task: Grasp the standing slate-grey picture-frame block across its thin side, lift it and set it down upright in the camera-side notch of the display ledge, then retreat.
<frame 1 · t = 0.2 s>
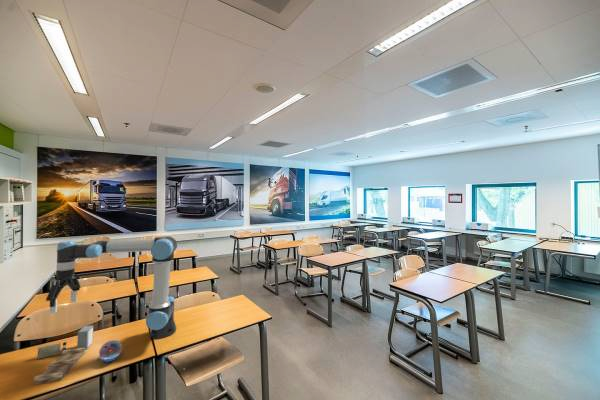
hand: (63, 307, 137), 27 cm above the table, fingers open, 13 cm apart
cell model: (110, 360, 134), on the table
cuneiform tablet: (51, 356, 136), on the table
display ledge: (61, 367, 127), on the table
frame block: (85, 347, 145), on the table
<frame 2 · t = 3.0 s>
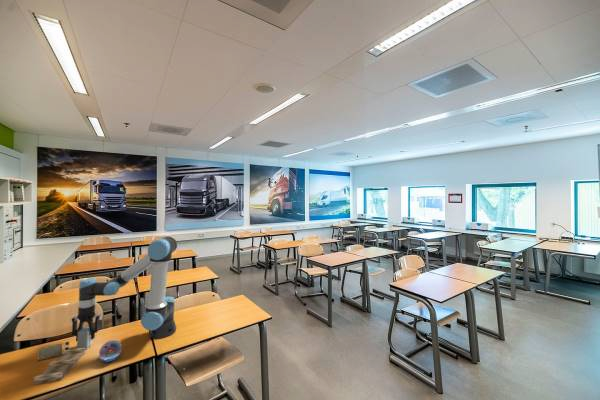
hand: (85, 345, 145), 1 cm above the table, fingers closed on frame block, 5 cm apart
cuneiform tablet: (53, 357, 135), on the table
frame block: (84, 347, 145), on the table, touching gripper
everything else where it was.
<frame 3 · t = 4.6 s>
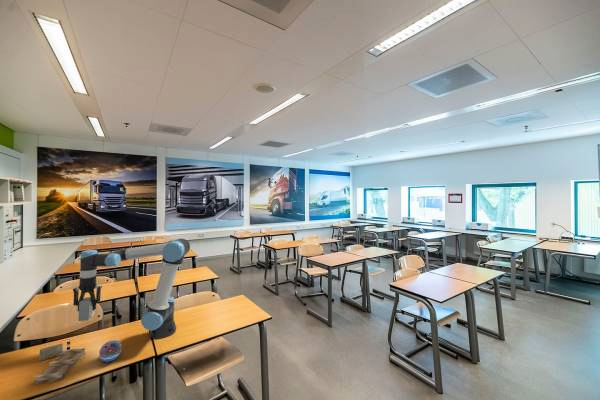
hand: (86, 315, 145), 18 cm above the table, fingers closed on frame block, 5 cm apart
frame block: (86, 318, 145), point 17 cm above the table, touching gripper
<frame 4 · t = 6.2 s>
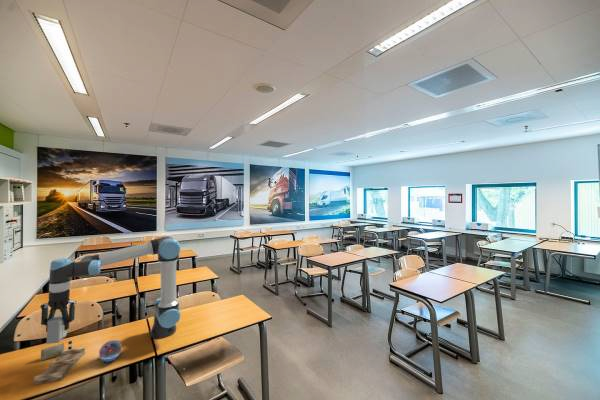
hand: (57, 336, 122), 18 cm above the table, fingers closed on frame block, 5 cm apart
frame block: (57, 339, 122), point 17 cm above the table, touching gripper
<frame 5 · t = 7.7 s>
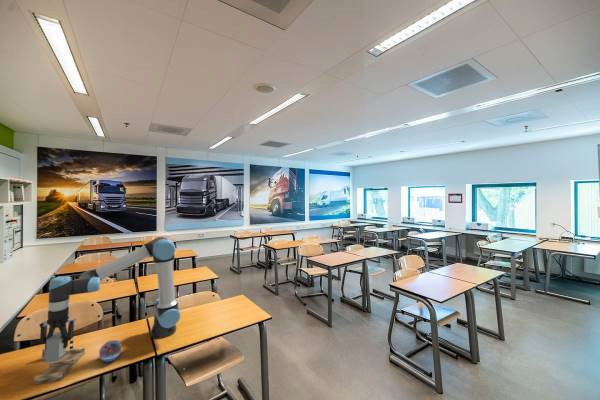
hand: (56, 355, 122), 9 cm above the table, fingers closed on frame block, 5 cm apart
frame block: (55, 357, 122), point 8 cm above the table, touching gripper
when the fingers open (3 cm above the table, at t = 9.1 s): frame block stays where it is, resting on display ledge.
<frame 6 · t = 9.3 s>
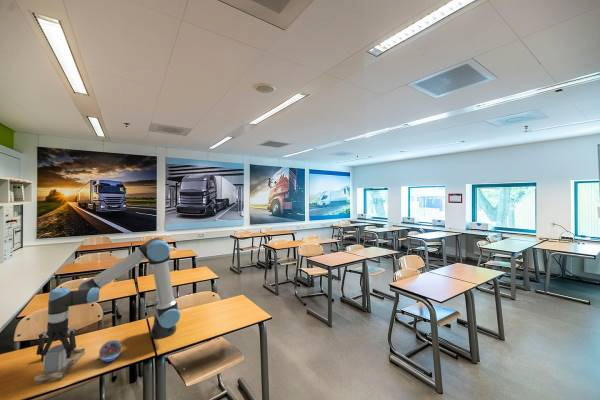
hand: (56, 366, 122), 4 cm above the table, fingers open, 7 cm apart
frame block: (55, 370, 122), point 1 cm above the table, touching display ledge
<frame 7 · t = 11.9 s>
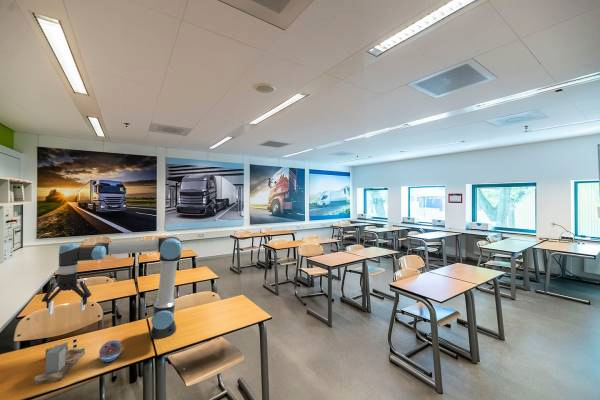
hand: (67, 312, 132), 26 cm above the table, fingers open, 13 cm apart
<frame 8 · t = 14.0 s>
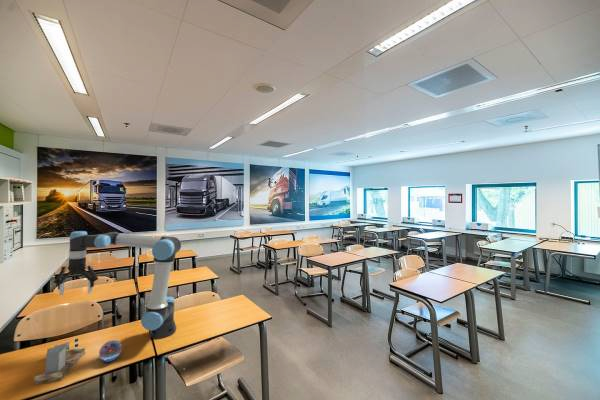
hand: (76, 293, 144), 32 cm above the table, fingers open, 13 cm apart
at the end: frame block inside the target area (0.5 cm from its centre), point 1.5 cm above the table; frame block tilted 0°; the gripper is holding nothing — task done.
